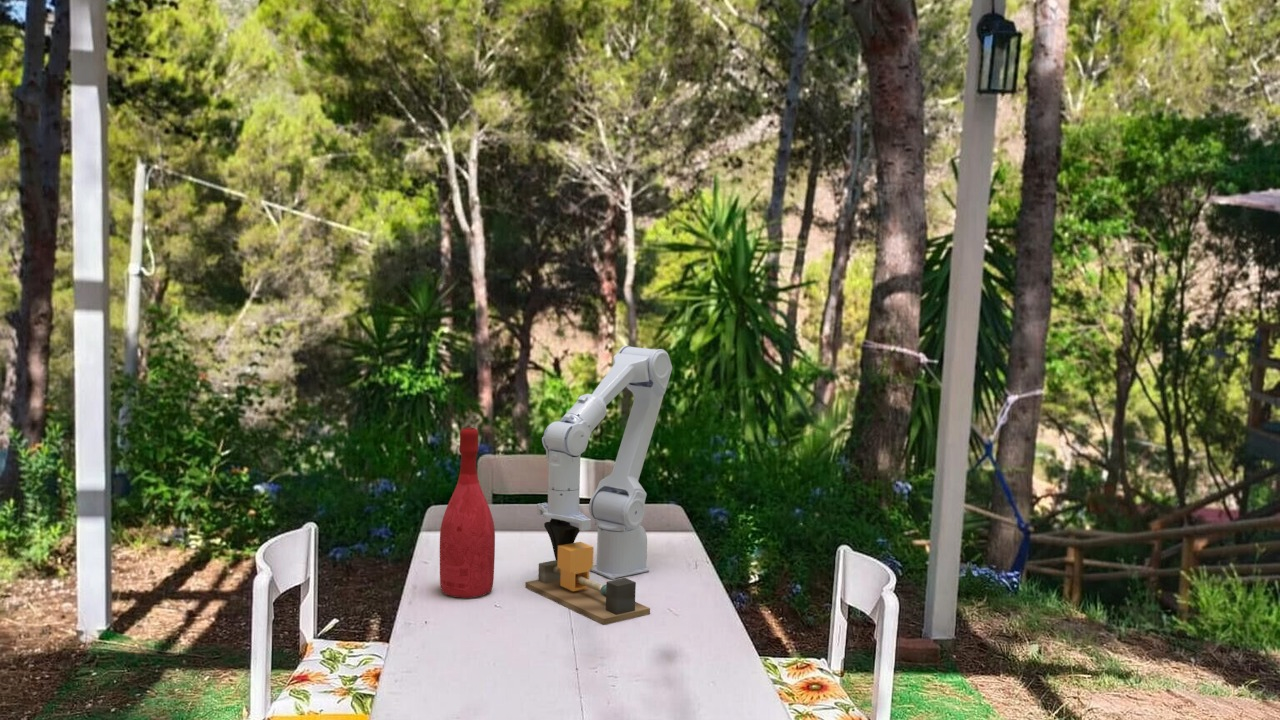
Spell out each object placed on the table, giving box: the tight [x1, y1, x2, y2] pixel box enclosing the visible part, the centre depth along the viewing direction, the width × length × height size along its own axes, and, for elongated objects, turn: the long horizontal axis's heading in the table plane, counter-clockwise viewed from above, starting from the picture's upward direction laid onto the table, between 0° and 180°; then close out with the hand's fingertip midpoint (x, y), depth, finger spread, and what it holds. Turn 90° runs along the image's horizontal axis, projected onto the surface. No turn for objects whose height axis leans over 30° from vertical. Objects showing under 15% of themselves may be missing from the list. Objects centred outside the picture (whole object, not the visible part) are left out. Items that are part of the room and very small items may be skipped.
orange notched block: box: [557, 541, 594, 591], centre depth 202 cm, size 4×5×8 cm
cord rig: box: [525, 559, 651, 626], centre depth 199 cm, size 24×10×6 cm, turn 39°
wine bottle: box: [439, 427, 496, 599], centre depth 201 cm, size 10×10×30 cm
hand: (562, 560), depth 205 cm, fingers closed
